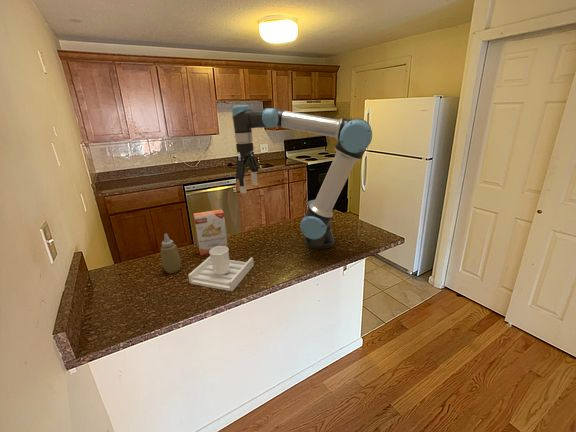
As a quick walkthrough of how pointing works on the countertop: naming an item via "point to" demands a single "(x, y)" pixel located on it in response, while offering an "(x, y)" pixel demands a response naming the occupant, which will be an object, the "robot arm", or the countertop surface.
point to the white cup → (220, 259)
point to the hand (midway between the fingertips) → (249, 188)
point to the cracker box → (210, 230)
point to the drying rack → (226, 281)
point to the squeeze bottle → (170, 256)
